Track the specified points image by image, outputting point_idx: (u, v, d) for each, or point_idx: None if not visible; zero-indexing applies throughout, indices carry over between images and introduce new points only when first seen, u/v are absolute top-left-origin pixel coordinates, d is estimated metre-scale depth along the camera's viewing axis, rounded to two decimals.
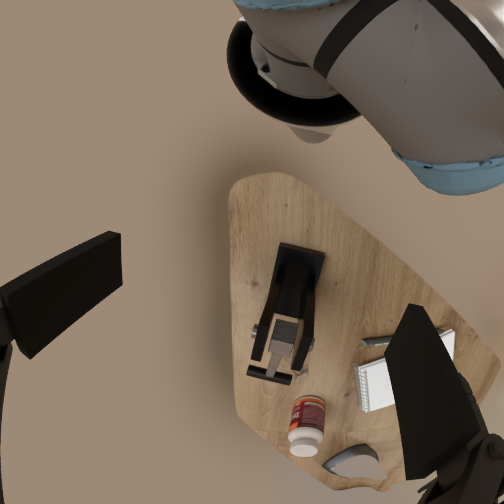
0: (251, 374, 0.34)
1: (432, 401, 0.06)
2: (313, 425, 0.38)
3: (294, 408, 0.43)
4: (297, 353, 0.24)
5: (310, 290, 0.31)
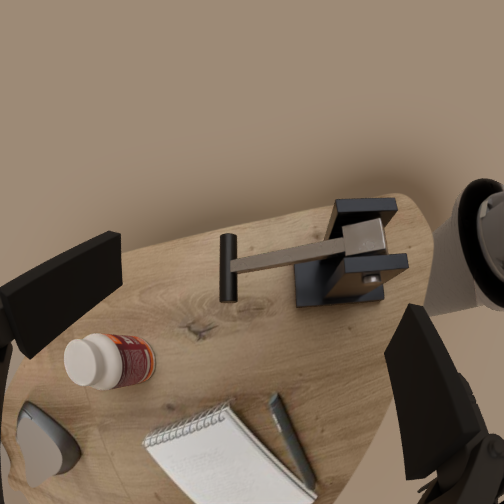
0: (227, 240, 0.24)
1: (432, 401, 0.06)
2: (124, 369, 0.23)
3: (131, 337, 0.29)
4: (376, 256, 0.16)
5: None
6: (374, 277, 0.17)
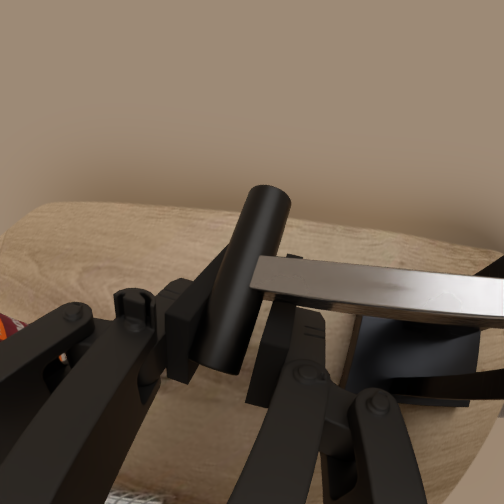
0: (268, 201, 0.09)
1: None
2: None
3: None
4: None
5: None
6: None
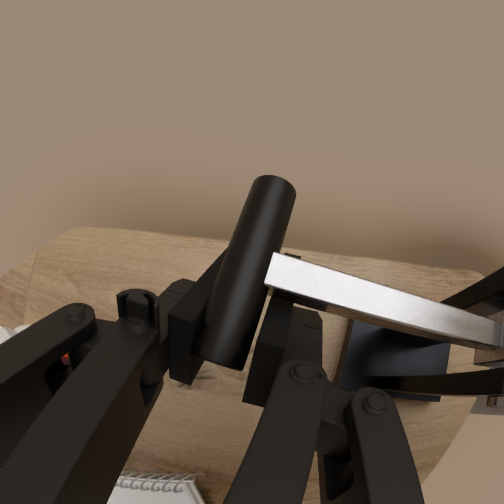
0: (283, 196, 0.09)
1: None
2: None
3: None
4: None
5: None
6: None
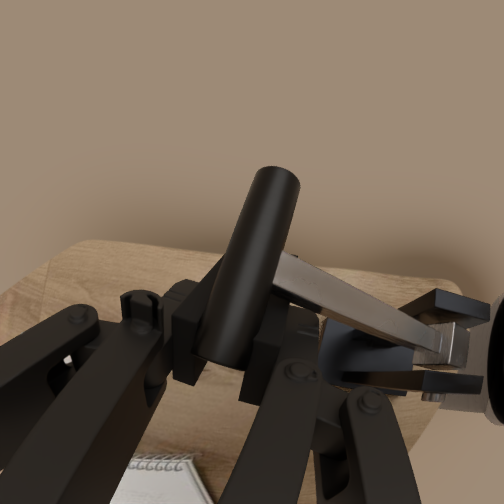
0: (293, 194, 0.08)
1: None
2: None
3: None
4: (457, 375, 0.09)
5: None
6: (441, 396, 0.10)
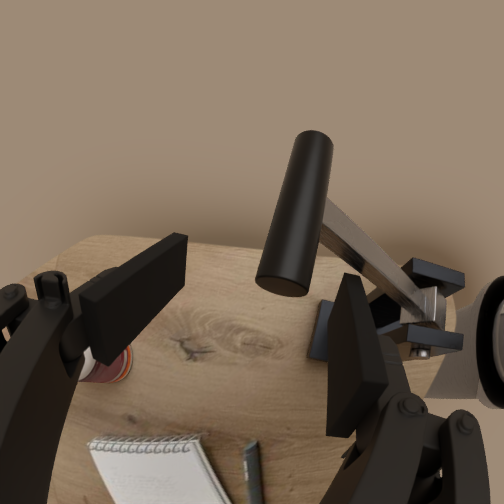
0: (331, 155, 0.09)
1: (347, 355, 0.08)
2: (96, 366, 0.19)
3: None
4: (438, 331, 0.12)
5: None
6: (426, 352, 0.13)
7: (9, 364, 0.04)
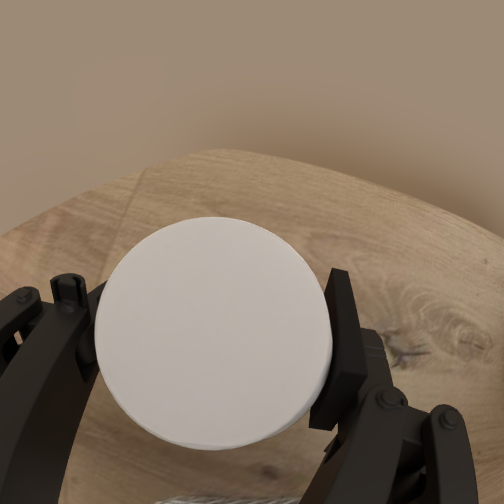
0: None
1: None
2: None
3: None
4: None
5: None
6: None
7: (22, 369, 0.04)
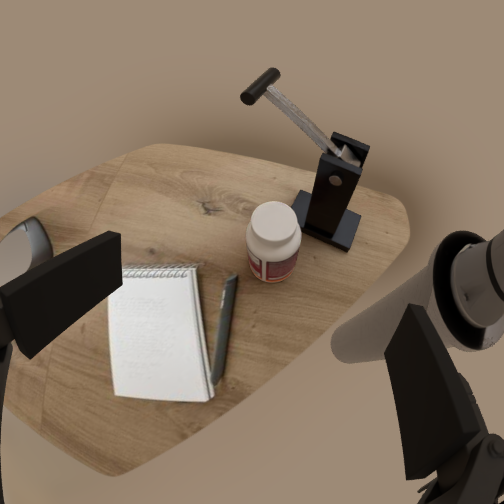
0: (277, 74, 0.24)
1: (432, 401, 0.06)
2: (296, 251, 0.30)
3: None
4: (342, 161, 0.25)
5: None
6: (337, 174, 0.26)
7: None
